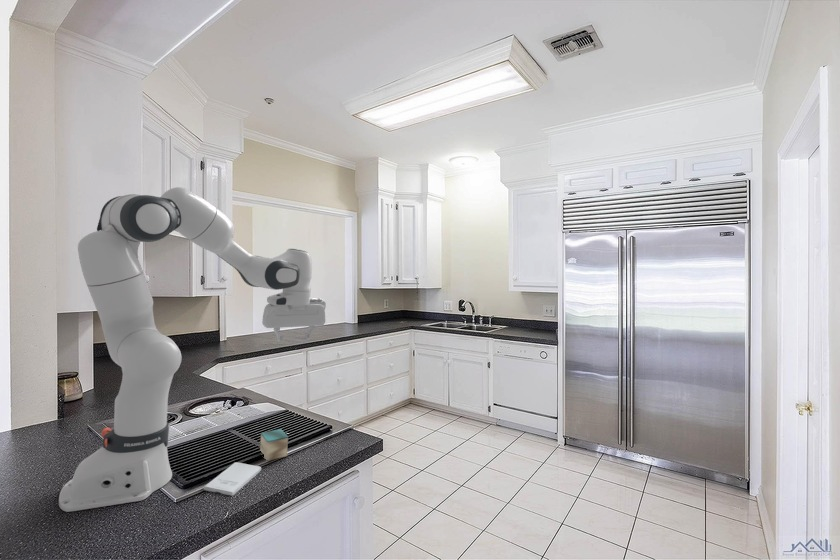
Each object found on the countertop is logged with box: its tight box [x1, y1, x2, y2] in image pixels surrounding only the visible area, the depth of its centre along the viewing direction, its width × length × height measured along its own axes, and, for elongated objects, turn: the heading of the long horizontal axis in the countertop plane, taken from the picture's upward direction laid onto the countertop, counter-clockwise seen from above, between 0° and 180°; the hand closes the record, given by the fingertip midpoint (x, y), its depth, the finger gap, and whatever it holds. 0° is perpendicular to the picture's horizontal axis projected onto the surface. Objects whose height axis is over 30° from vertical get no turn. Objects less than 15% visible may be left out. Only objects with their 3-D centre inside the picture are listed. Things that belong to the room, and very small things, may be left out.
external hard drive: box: [203, 461, 262, 497], centre depth 109 cm, size 2×8×12 cm
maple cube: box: [259, 428, 289, 461], centre depth 123 cm, size 6×6×6 cm
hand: (293, 339), depth 137 cm, fingers open, 8 cm apart
